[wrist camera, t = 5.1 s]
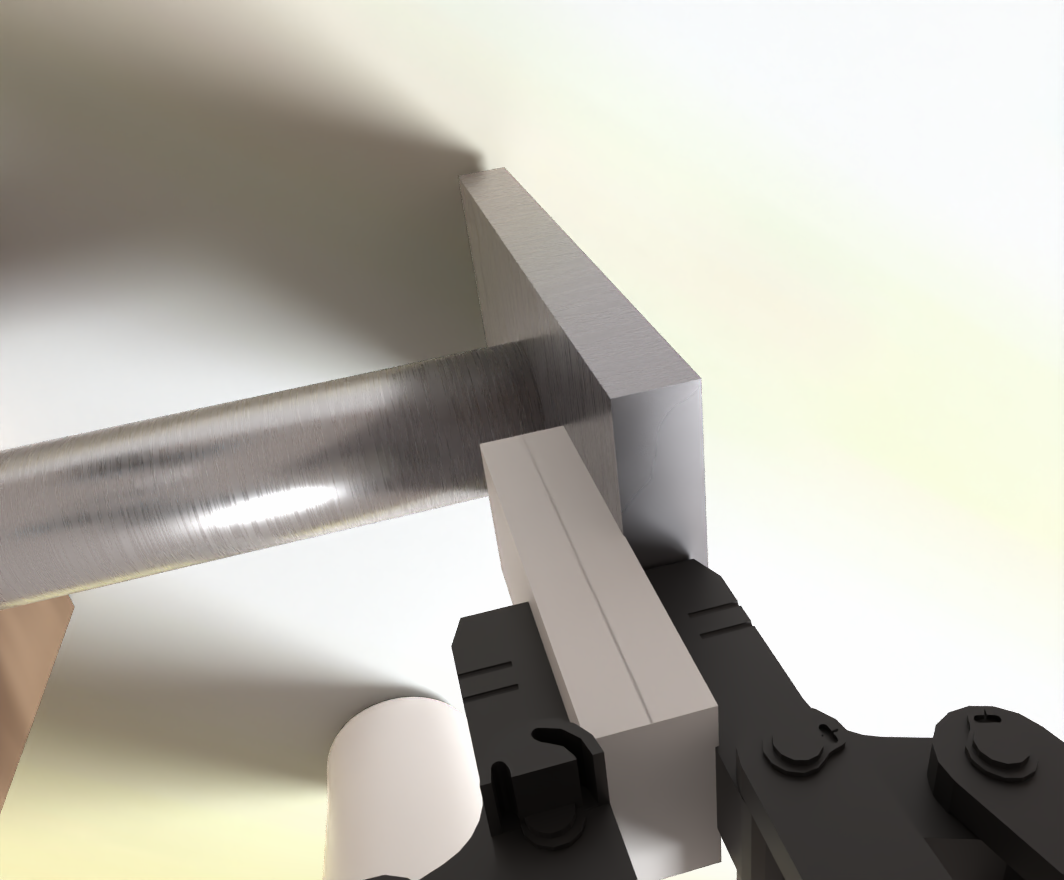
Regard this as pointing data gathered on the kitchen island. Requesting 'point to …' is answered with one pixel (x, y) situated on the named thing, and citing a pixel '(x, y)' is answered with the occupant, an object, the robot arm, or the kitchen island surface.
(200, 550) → the shaft
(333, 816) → the drinking glass
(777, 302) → the kitchen island surface
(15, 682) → the bearing block
